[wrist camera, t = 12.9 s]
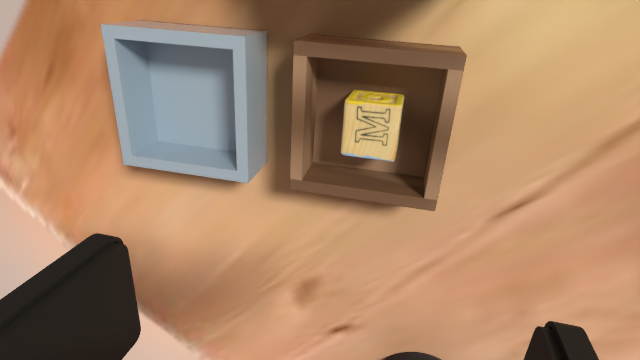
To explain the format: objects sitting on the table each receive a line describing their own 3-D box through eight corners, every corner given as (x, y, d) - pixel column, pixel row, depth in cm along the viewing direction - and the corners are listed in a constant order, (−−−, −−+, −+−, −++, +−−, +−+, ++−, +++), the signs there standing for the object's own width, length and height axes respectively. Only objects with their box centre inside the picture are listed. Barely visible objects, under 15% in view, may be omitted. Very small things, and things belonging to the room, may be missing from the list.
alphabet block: (347, 138, 25) (339, 156, 22) (351, 88, 24) (343, 100, 21) (397, 144, 25) (395, 163, 22) (405, 93, 23) (403, 106, 21)
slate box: (267, 161, 28) (248, 183, 25) (155, 146, 29) (123, 164, 26) (267, 30, 24) (245, 36, 21) (139, 20, 25) (100, 24, 22)
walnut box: (432, 184, 26) (434, 211, 23) (304, 167, 27) (289, 189, 24) (459, 46, 22) (466, 55, 19) (310, 34, 24) (293, 40, 20)
